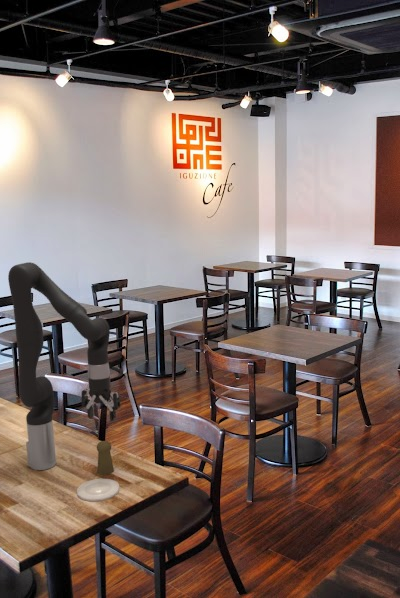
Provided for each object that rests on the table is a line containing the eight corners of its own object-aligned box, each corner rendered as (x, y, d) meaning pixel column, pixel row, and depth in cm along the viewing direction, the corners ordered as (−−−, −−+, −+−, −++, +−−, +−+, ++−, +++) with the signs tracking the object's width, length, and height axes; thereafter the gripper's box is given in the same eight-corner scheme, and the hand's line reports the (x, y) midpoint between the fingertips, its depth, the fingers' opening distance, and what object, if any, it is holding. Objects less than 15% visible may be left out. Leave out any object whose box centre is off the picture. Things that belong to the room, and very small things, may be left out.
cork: (110, 475, 217) (108, 446, 215) (94, 474, 218) (92, 445, 216) (116, 467, 223) (114, 439, 221) (100, 467, 224) (98, 438, 222)
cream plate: (69, 498, 202) (68, 495, 202) (90, 479, 215) (90, 476, 215) (106, 504, 197) (106, 501, 197) (126, 484, 210) (126, 481, 210)
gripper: (75, 376, 213) (78, 421, 216) (111, 379, 208) (114, 425, 211) (86, 370, 220) (89, 413, 223) (122, 373, 215) (124, 417, 218)
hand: (101, 419), depth 217 cm, fingers open, 8 cm apart
